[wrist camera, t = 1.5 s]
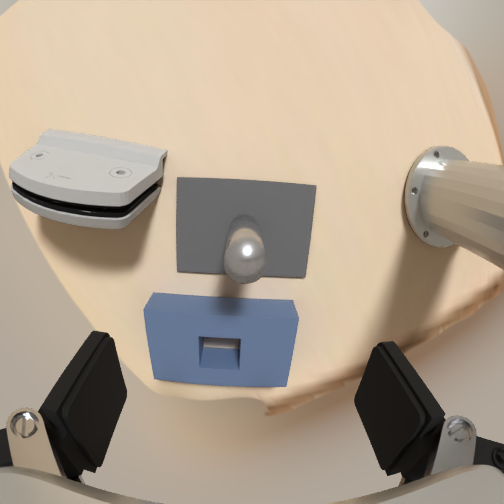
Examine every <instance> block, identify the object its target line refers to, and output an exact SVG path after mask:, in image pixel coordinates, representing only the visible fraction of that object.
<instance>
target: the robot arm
mask: <svg viewBox="0 0 504 504" xmlns="http://www.w3.org/2000/svg"><path fill="white" fill-rule="evenodd" d="M405 208H406V214H407V217H408V221H409V223H410V225H411V227H412V230H413V231H414V232H415V234H416V235H417V236H418V237H419V238H420V239H421V240H422V241H424V242H425V243H427V244H429V245H431V246H434V247H440V248H443V247H449V246H451V245H453V244H457V245H459V246H461V247H463V248H465V249H467V250H469V251H471V252H472V253H474V254H476V255H478V256H480V257H482V258H484V259H485V260H487V261H489V262H491V263H493V264H494V265H496V266H498V267H500V268H501V269H503V270H504V166H502V165H495V164H488V163H481V162H473V161H469V160H468V159H467V157H466V156H465V155H464V154H463V153H461V152H460V151H459V150H457V149H455V148H453V147H449V146H436V147H432V148H430V149H428V150H426V151H424V152H423V153H422V154H421V155H420V156H419V157H418V158H417V160H416V161H415V162H414V164H413V166H412V168H411V170H410V172H409V175H408V178H407V182H406V188H405ZM126 398H127V389H126V386H125V382H124V379H123V375H122V371H121V367H120V363H119V359H118V355H117V351H116V347H115V342H114V339H113V338H111V337H110V335H109V334H108V333H105V332H99V331H93V332H91V334H90V335H89V337H88V338H87V339H86V340H85V342H84V343H83V345H82V346H81V347H80V349H79V350H78V352H77V353H76V355H75V356H74V358H73V359H72V360H71V362H70V363H69V365H68V366H67V367H66V369H65V370H64V372H63V373H62V375H61V377H60V378H59V379H58V381H57V382H56V384H55V386H54V387H53V389H52V390H51V392H50V393H49V395H48V397H47V398H46V400H45V401H44V403H43V404H42V406H41V407H40V409H39V411H38V412H37V411H36V410H34V409H32V408H21V409H18V410H16V411H14V412H13V413H11V415H10V416H9V417H8V420H7V423H6V424H7V425H6V428H5V429H1V430H0V504H162V503H155V502H151V501H146V500H141V499H136V498H132V497H127V496H123V495H120V494H116V493H112V492H108V491H105V490H101V489H97V488H94V487H91V486H88V485H85V483H84V481H83V479H82V476H81V475H82V472H83V470H87V471H90V472H93V473H95V472H96V469H97V467H101V466H102V464H103V461H104V458H105V455H106V452H107V449H108V446H109V444H110V441H111V438H112V435H113V432H114V429H115V427H116V424H117V421H118V419H119V416H120V414H121V411H122V408H123V406H124V403H125V401H126ZM354 403H355V406H356V409H357V411H358V413H359V416H360V418H361V420H362V423H363V425H364V428H365V430H366V432H367V435H368V437H369V440H370V442H371V445H372V447H373V450H374V452H375V455H376V457H377V460H378V462H379V465H380V467H381V469H382V470H385V471H386V474H387V476H389V475H393V474H396V473H399V472H401V475H402V479H401V481H400V484H399V486H398V487H395V488H392V489H388V490H384V491H381V492H377V493H374V494H370V495H366V496H362V497H358V498H353V499H349V500H344V501H339V502H333V503H328V504H504V444H501V443H498V442H494V441H491V440H487V439H484V438H481V437H478V436H476V428H475V426H474V424H473V423H472V422H471V421H470V420H469V419H467V418H465V417H462V416H451V417H449V418H448V419H447V420H445V418H444V415H445V413H444V411H443V410H442V408H441V407H440V405H439V404H438V402H437V401H436V399H435V398H434V396H433V395H432V393H431V392H430V391H429V389H428V388H427V386H426V385H425V383H424V382H423V381H422V379H421V378H420V376H419V375H418V374H417V372H416V371H415V369H414V368H413V367H412V365H411V364H410V362H409V361H408V360H407V358H406V357H405V356H404V354H403V353H402V352H401V350H400V349H399V348H398V346H397V345H396V344H395V343H394V342H393V341H390V342H380V343H378V344H377V346H376V347H374V348H373V350H372V353H371V356H370V358H369V361H368V364H367V367H366V369H365V372H364V375H363V377H362V380H361V382H360V385H359V387H358V390H357V393H356V395H355V399H354Z"/></svg>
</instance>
